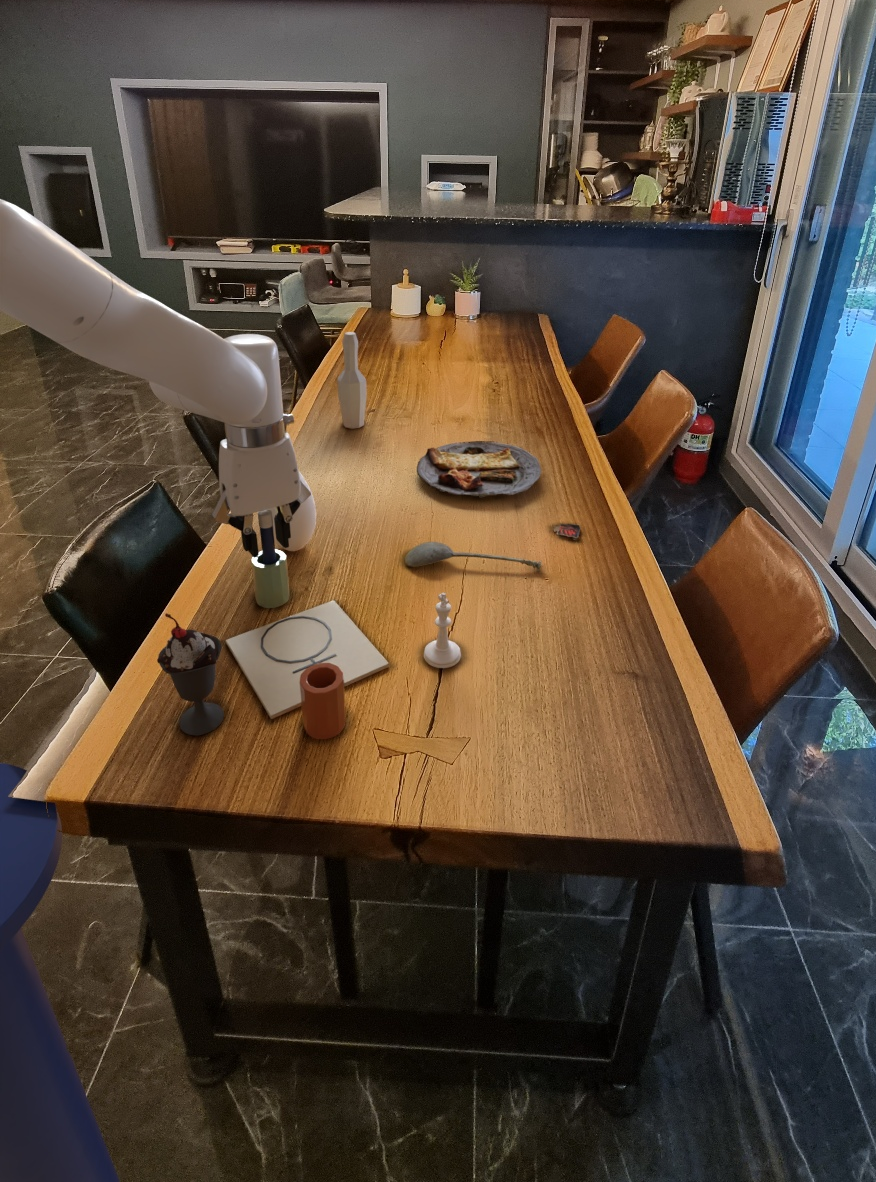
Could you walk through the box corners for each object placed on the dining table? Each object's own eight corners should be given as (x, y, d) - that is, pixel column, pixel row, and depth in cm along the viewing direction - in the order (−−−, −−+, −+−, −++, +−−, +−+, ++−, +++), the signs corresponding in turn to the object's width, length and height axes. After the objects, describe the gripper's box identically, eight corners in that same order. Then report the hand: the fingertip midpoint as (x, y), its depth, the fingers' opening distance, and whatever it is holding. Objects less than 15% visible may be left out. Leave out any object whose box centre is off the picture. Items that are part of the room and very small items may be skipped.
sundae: (170, 706, 83) (150, 604, 76) (228, 692, 85) (214, 592, 79) (171, 748, 77) (149, 642, 71) (233, 732, 79) (218, 628, 73)
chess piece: (437, 673, 89) (438, 610, 85) (416, 652, 92) (416, 590, 88) (468, 658, 92) (470, 596, 87) (446, 638, 95) (448, 577, 91)
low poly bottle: (334, 423, 163) (329, 332, 154) (356, 417, 167) (353, 328, 158) (349, 432, 159) (346, 338, 150) (372, 425, 163) (370, 334, 153)
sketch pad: (271, 719, 81) (270, 715, 81) (226, 643, 93) (225, 639, 93) (389, 666, 90) (389, 662, 89) (334, 603, 102) (333, 599, 101)
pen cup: (263, 612, 99) (258, 571, 96) (251, 595, 103) (246, 555, 100) (294, 601, 102) (291, 561, 99) (282, 584, 105) (278, 545, 102)
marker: (269, 600, 101) (260, 517, 95) (264, 593, 102) (255, 511, 96) (281, 596, 102) (273, 513, 96) (277, 589, 103) (268, 508, 97)
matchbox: (578, 525, 123) (579, 522, 123) (582, 540, 119) (582, 538, 118) (552, 524, 123) (553, 521, 123) (555, 539, 119) (555, 537, 119)
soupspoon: (409, 550, 116) (401, 574, 110) (408, 533, 114) (400, 557, 109) (540, 558, 113) (540, 583, 108) (541, 541, 112) (541, 565, 106)
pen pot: (314, 746, 78) (310, 699, 75) (297, 718, 81) (293, 673, 79) (352, 727, 80) (350, 681, 78) (334, 702, 84) (331, 657, 81)
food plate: (415, 503, 129) (415, 486, 128) (417, 451, 150) (417, 436, 149) (548, 503, 130) (549, 487, 129) (531, 451, 151) (532, 437, 150)
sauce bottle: (291, 566, 110) (282, 464, 102) (259, 549, 114) (248, 450, 106) (327, 546, 115) (321, 448, 108) (296, 530, 120) (288, 435, 112)
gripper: (302, 409, 98) (310, 520, 106) (182, 433, 89) (200, 553, 97) (326, 426, 92) (332, 543, 100) (199, 454, 84) (218, 580, 91)
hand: (267, 547), depth 98 cm, fingers open, 3 cm apart
